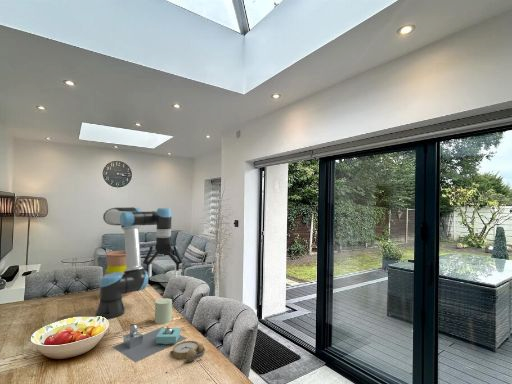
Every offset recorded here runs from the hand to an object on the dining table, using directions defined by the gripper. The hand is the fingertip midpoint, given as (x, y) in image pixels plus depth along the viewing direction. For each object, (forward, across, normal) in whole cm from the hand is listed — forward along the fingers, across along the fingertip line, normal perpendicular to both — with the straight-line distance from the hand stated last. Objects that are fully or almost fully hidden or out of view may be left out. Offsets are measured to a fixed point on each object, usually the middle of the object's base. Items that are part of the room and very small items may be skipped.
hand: (162, 276), depth 147 cm
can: (+27, -1, +8) cm, 28 cm away
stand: (+26, -8, -18) cm, 33 cm away
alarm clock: (+27, +20, -27) cm, 43 cm away
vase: (+27, -47, +57) cm, 79 cm away
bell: (+26, +8, -16) cm, 31 cm away
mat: (+27, 0, -17) cm, 32 cm away
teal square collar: (+25, +8, -16) cm, 30 cm away
